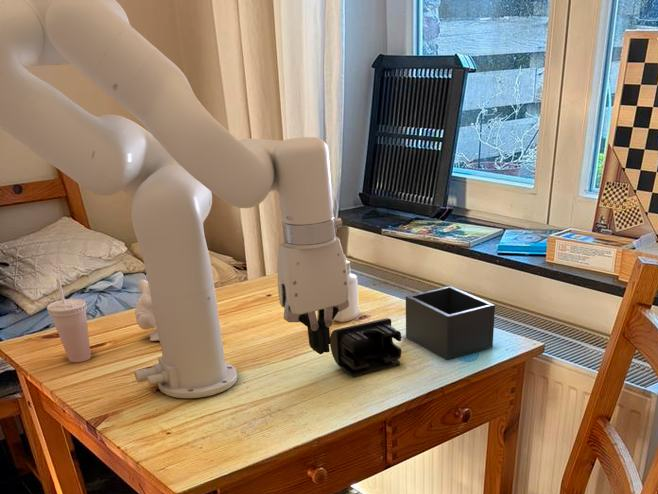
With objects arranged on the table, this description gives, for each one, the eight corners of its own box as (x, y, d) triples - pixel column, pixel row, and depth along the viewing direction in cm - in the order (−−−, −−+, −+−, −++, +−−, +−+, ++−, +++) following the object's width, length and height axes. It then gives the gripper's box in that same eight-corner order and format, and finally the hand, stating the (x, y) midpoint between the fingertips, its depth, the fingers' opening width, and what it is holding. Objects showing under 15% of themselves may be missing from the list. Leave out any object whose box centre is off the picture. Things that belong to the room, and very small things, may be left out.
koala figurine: (188, 339, 137) (177, 274, 131) (154, 349, 134) (141, 282, 127) (167, 327, 143) (156, 264, 137) (134, 336, 140) (121, 272, 133)
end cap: (383, 351, 129) (382, 313, 125) (403, 365, 124) (403, 326, 120) (330, 363, 125) (328, 325, 122) (349, 378, 120) (347, 338, 116)
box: (446, 360, 125) (448, 316, 121) (405, 337, 134) (405, 296, 130) (492, 347, 129) (495, 304, 124) (449, 326, 138) (450, 285, 134)
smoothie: (81, 348, 135) (62, 271, 128) (106, 354, 132) (88, 276, 125) (53, 361, 131) (31, 282, 123) (78, 368, 128) (57, 287, 120)
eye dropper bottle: (364, 318, 143) (362, 255, 136) (336, 323, 141) (333, 259, 135) (355, 311, 146) (353, 249, 140) (328, 316, 145) (324, 254, 138)
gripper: (341, 218, 114) (350, 332, 124) (251, 236, 108) (267, 354, 118) (366, 227, 109) (373, 346, 119) (272, 246, 103) (288, 370, 113)
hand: (320, 350), depth 118 cm, fingers closed
